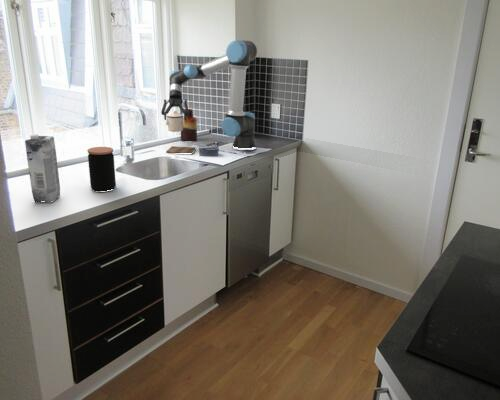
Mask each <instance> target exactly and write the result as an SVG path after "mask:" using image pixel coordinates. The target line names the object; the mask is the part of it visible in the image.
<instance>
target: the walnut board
mask: <svg viewBox="0 0 500 400" xmlns="http://www.w3.org/2000/svg"><path fill="white" fill-rule="evenodd" d="M195 148H196V147H192V146H191V147H190V146H173V145H171V146H170V148H168V150H166V154H167V153H192V152H193V151H194V150H195ZM195 151H196V150H195ZM195 151H194V152H195Z"/></svg>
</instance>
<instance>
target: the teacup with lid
mask: <svg viewBox="0 0 500 400" xmlns="http://www.w3.org/2000/svg"><path fill="white" fill-rule="evenodd" d="M167 117H168V125H167V130H168V132H172V133H176V132H177V133H179V132H181V131H182V130H183V118H182V117H183V113H182V114H181V113H179V112H178V111H177V110H173V111H172V112H171V113H170V114H169V113H168V116H167Z"/></svg>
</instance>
